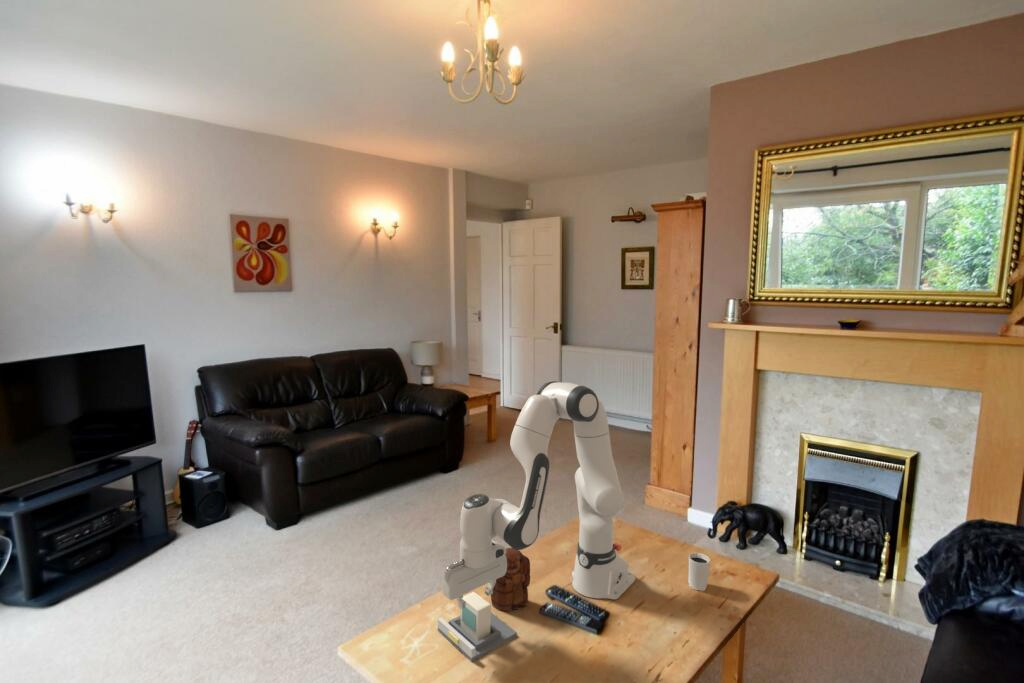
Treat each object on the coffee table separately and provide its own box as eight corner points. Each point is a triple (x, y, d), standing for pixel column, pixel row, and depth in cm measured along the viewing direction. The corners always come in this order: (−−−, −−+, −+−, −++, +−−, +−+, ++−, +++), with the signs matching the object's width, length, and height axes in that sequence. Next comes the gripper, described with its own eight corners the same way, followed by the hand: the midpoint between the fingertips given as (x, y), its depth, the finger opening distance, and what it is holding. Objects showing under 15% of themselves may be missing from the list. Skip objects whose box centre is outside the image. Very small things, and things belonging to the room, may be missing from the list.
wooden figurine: (495, 614, 157) (496, 558, 155) (489, 602, 163) (490, 547, 161) (531, 607, 161) (533, 551, 159) (524, 595, 167) (525, 541, 165)
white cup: (701, 594, 170) (703, 565, 169) (683, 585, 175) (684, 557, 174) (711, 587, 174) (713, 558, 173) (693, 578, 179) (695, 550, 178)
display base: (482, 608, 160) (482, 597, 160) (516, 635, 148) (517, 624, 148) (436, 631, 149) (436, 619, 149) (470, 662, 137) (470, 650, 137)
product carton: (473, 620, 153) (473, 591, 152) (490, 634, 147) (490, 604, 146) (459, 627, 150) (460, 597, 149) (476, 642, 144) (477, 611, 143)
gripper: (451, 572, 136) (451, 621, 138) (510, 546, 150) (509, 592, 151) (438, 562, 141) (438, 610, 143) (496, 538, 154) (496, 582, 156)
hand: (475, 600), depth 147 cm, fingers open, 8 cm apart
